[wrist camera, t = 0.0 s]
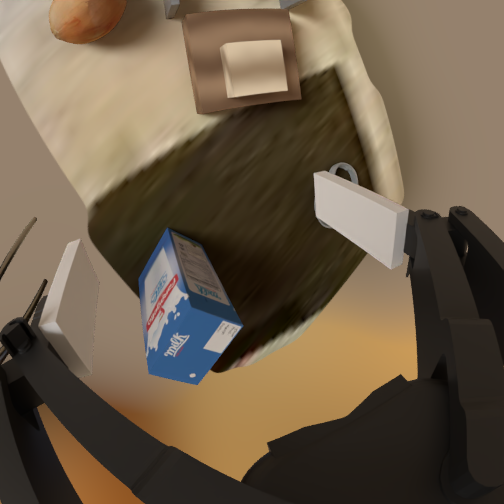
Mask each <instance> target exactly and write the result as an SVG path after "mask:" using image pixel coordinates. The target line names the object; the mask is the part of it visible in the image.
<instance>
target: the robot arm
mask: <svg viewBox="0 0 504 504" xmlns="http://www.w3.org/2000/svg"><path fill="white" fill-rule="evenodd" d="M314 184H315V202H316V217H317V218H319V219H320V220H322V221H323V222H325V223H326V224H328V225H329V226H331V227H332V228H334V229H335V230H336V231H338V232H339V233H341V234H342V235H344V236H345V237H347V238H348V239H349V240H351V241H352V242H354V243H355V244H356V245H358V246H359V247H361V248H362V249H363V250H365V251H366V252H368V253H369V254H370V255H372V256H373V257H374V258H376V259H377V260H379V261H380V262H381V263H383V264H384V265H385V266H387V267H388V268H389V269H393V268H395V267H397V266H399V265H401V264H402V262H403V254H404V253H406V254H407V255H409V262H408V268H407V273H406V277H408V275H409V274H410V279H411V286H412V295H413V304H414V314H415V326H416V341H417V363H418V378H417V379H416V380H412V381H407V380H406V379H405V378H404V377H403V376H402V375H401V374H400V375H399V376H397V377H396V378H394V379H392V380H391V381H389V382H388V383H386V384H384V385H383V386H381V387H379V388H378V389H376V390H375V391H373V392H372V393H371V394H370V395H369V396H368V397H367V398H366V399H365V400H364V401H363V402H362V403H361V404H360V405H359V406H358V407H356V408H355V409H354V410H353V411H352V412H351V413H350V414H349V415H348V416H346V417H344V418H341V419H337V420H333V421H329V422H325V423H320V424H316V425H311V426H307V427H304V428H301V429H299V430H297V431H294V432H292V433H290V434H288V435H285V436H283V437H280V438H278V439H275V440H273V441H270V442H268V443H267V445H268V448H269V452H268V453H267V454H266V455H264V456H263V457H261V458H260V459H259V460H258V461H257V462H256V463H254V465H253V466H252V467H251V468H250V469H249V470H248V471H247V473H246V474H245V476H244V477H243V479H242V480H241V482H240V481H237V480H235V479H233V478H231V477H229V476H227V475H225V474H223V473H221V472H219V471H217V470H215V469H213V468H211V467H209V466H207V465H206V464H204V463H202V462H200V461H198V460H197V459H195V458H193V457H191V456H190V455H188V454H186V453H184V452H183V451H181V450H179V449H177V448H175V447H173V446H167V445H165V444H163V443H161V442H160V441H158V440H157V439H155V438H154V437H152V436H151V435H149V434H148V433H147V432H145V431H143V430H142V429H141V428H139V427H138V426H137V425H135V424H134V423H132V422H131V421H130V420H128V419H127V418H126V417H124V416H123V415H122V414H121V413H119V412H118V411H117V410H115V409H114V408H113V407H111V406H110V405H109V404H108V403H107V402H105V401H104V400H103V399H102V398H100V397H99V396H98V395H97V394H96V393H95V392H93V391H92V390H91V389H90V388H89V387H88V386H87V385H85V384H84V383H83V382H82V381H81V380H80V379H79V378H81V377H85V376H89V375H92V362H93V343H94V330H95V318H96V308H97V299H98V291H99V280H98V278H97V276H96V274H95V271H94V269H93V267H92V265H91V262H90V260H89V257H88V255H87V253H86V251H85V248H84V245H83V243H82V240H81V239H78V240H75V241H72V242H70V243H68V245H67V247H66V249H65V252H64V254H63V257H62V259H61V261H60V264H59V267H58V269H57V272H56V274H55V277H54V280H53V283H52V285H51V288H50V291H49V294H48V295H47V296H44V297H43V298H42V299H41V301H40V302H39V303H38V305H37V308H36V311H35V314H34V317H33V320H32V323H31V326H29V324H28V322H27V321H26V319H25V318H23V317H19V318H16V319H13V320H12V321H10V322H9V323H7V325H6V326H5V327H4V328H3V329H2V331H1V332H0V342H1V343H2V345H3V346H4V347H5V349H6V350H7V351H8V353H9V354H10V355H11V356H12V359H11V360H9V361H7V362H6V363H4V364H2V365H1V364H0V500H1V503H2V504H83V503H82V501H81V500H80V498H79V496H78V495H77V493H76V491H75V489H74V488H73V486H72V484H71V482H70V480H69V479H68V477H67V475H66V473H65V471H64V469H63V467H62V465H61V463H60V461H59V459H58V457H57V455H56V453H55V451H54V448H53V446H52V444H51V442H50V439H49V437H48V435H47V432H46V430H45V428H44V425H43V423H42V420H41V418H40V415H39V412H38V409H37V407H38V406H39V405H41V404H43V403H45V404H46V405H47V406H48V408H49V409H50V410H51V411H52V412H53V414H54V415H55V416H56V417H57V418H58V420H59V421H60V422H61V423H62V424H63V425H64V426H65V428H66V429H67V430H68V431H69V432H70V433H71V434H72V435H73V436H74V437H75V438H76V439H77V441H78V442H80V443H81V445H82V446H83V447H84V448H85V449H86V450H87V451H88V452H89V453H90V454H91V455H92V456H93V457H94V458H95V459H97V460H98V461H99V462H100V463H101V464H102V465H103V466H104V467H105V468H106V469H107V470H109V471H110V472H111V473H112V474H113V475H114V476H115V477H116V478H118V479H119V480H120V481H121V482H122V483H124V484H125V485H126V486H127V487H128V488H129V489H130V490H132V493H133V494H134V495H135V496H136V497H138V498H139V499H140V500H141V501H142V502H144V503H145V504H504V366H503V365H504V242H502V240H501V239H500V238H499V237H498V236H497V235H496V234H495V233H494V232H493V231H492V230H491V229H490V228H489V227H488V226H487V225H485V224H484V223H483V222H482V221H481V220H480V219H479V218H478V217H477V216H476V215H475V214H474V213H473V212H472V211H470V210H468V209H466V208H465V207H462V206H459V207H457V206H454V207H451V208H450V211H449V217H441V216H440V215H439V214H438V213H436V212H434V211H431V210H418V211H416V212H414V211H412V210H410V209H407V208H406V207H404V206H402V205H399V204H398V203H396V202H393V201H392V200H389V199H387V198H385V197H383V196H381V195H379V194H376V193H374V192H372V191H370V190H368V189H366V188H363V187H361V186H359V185H357V184H354V183H352V182H350V181H348V180H345V179H343V178H341V177H338V176H336V175H334V174H331V173H329V172H326V171H322V172H317V173H314ZM467 246H468V252H466V250H467Z"/></svg>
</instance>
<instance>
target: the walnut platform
mask: <svg viewBox="0 0 504 504" xmlns="http://www.w3.org/2000/svg"><path fill="white" fill-rule="evenodd" d="M182 27H183V33H184V39H185V45H186V52H187V58H188V64H189V70H190V76H191V81H192V87H193V93H194V99H195V104H196V110H197V114H205V113H210V112H215V111H221V110H226V109H232V108H238V107H244V106H250V105H257V104H264V103H272V102H280V101H289V100H299V99H301V91H300V83H299V75H298V68H297V60H296V53H295V47H294V40H293V34H292V28H291V22H290V16H289V10H288V9H235V10H220V11H209V12H200V13H192V14H186V16H185V18H184V19H183V21H182ZM261 40H281V46H282V52H283V59H284V66H285V73H286V80H287V88H288V91H279V92H269V93H261V94H253V95H246V96H239V97H232V98H228V96H227V90H226V84H225V77H224V71H223V65H222V59H221V53H220V47H221V46H223V45H224V44H226V43H233V42H245V41H261Z"/></svg>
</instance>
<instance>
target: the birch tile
mask: <svg viewBox="0 0 504 504" xmlns="http://www.w3.org/2000/svg"><path fill="white" fill-rule="evenodd" d="M220 53H221V59H222V65H223V71H224V77H225V84H226V90H227V96H228V98H232V97H239V96H246V95H253V94H261V93H269V92H279V91H288V88H287V80H286V73H285V66H284V59H283V52H282V46H281V40H261V41H245V42H233V43H226V44H224V45H223V46H221V47H220Z"/></svg>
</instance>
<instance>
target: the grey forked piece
mask: <svg viewBox="0 0 504 504" xmlns="http://www.w3.org/2000/svg"><path fill="white" fill-rule="evenodd" d="M36 221H37V218H36V217H34V218H33V219H32V220H31V221H30V222H29V224H28V225H27V226H26V228H25V229H24V230H23V232H22V233H21V234H20V236H19V237H18V239H17V240H16V242H15V243H14V245H13V246H12V248H11V249H10V251H9V253H8V254H7V256H6V258H5V259H4V261H3V263H2V265H1V266H0V280H1V278H2V276H3V275H4V273H5V271H6V269H7V267H8V265H9V264H10V262H11V260H12V259H13V257H14V255H15V254H16V252H17V250H18V249H19V247H20V245H21V244H22V242H23V240H24V239H25V237H26V235H27V234H28V233H29V231H30V230H31V228H32V226H33V225H34V224H35V222H36ZM47 282H48V281H47V280H46V279H44V281H43V283H42V285H41V286H40V288H39V290H38V292H37V294H36V296H35V297H34V299H33V301H32V303H31V304H30V306H29V308H28V309H27V311H26V313H25V314H24V316H23V318H25V319H26V321H27V322H29V319H30V318H31V316H32V314H33V312H34V310H35V308H36V306H37V304H38V302H39V300H40V298H41V296H42V294H43V291H44V289H45V287H46V285H47ZM8 354H9V353H8V351H7V350H6V349H5V347H4V346H2V347H1V348H0V364H2V363H3V361H4V360H5V359H6V357H7V355H8Z"/></svg>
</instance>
